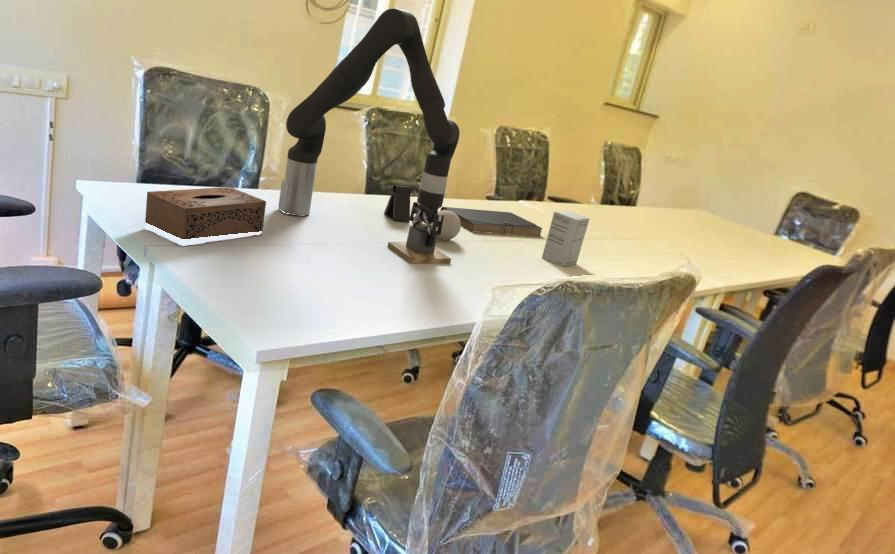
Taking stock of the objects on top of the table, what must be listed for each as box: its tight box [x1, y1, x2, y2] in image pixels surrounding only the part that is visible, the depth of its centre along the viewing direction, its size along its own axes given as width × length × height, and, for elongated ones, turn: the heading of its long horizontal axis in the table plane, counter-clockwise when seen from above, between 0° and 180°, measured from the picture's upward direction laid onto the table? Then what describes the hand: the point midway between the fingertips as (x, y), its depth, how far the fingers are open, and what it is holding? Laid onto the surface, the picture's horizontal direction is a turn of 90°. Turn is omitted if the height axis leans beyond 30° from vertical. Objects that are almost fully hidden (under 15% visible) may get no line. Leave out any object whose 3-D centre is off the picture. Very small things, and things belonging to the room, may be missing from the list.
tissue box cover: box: [144, 186, 267, 239], centre depth 166 cm, size 26×14×10 cm, turn 149°
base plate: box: [387, 241, 452, 264], centre depth 189 cm, size 14×14×2 cm
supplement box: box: [541, 210, 590, 268], centre depth 215 cm, size 10×9×17 cm
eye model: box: [431, 210, 462, 241], centre depth 211 cm, size 10×10×10 cm
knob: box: [406, 222, 438, 254], centre depth 188 cm, size 6×6×8 cm
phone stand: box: [383, 184, 412, 223], centre depth 224 cm, size 9×6×12 cm, turn 31°
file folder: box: [439, 206, 543, 237], centre depth 248 cm, size 33×4×24 cm
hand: (421, 241), depth 188 cm, fingers open, 8 cm apart
